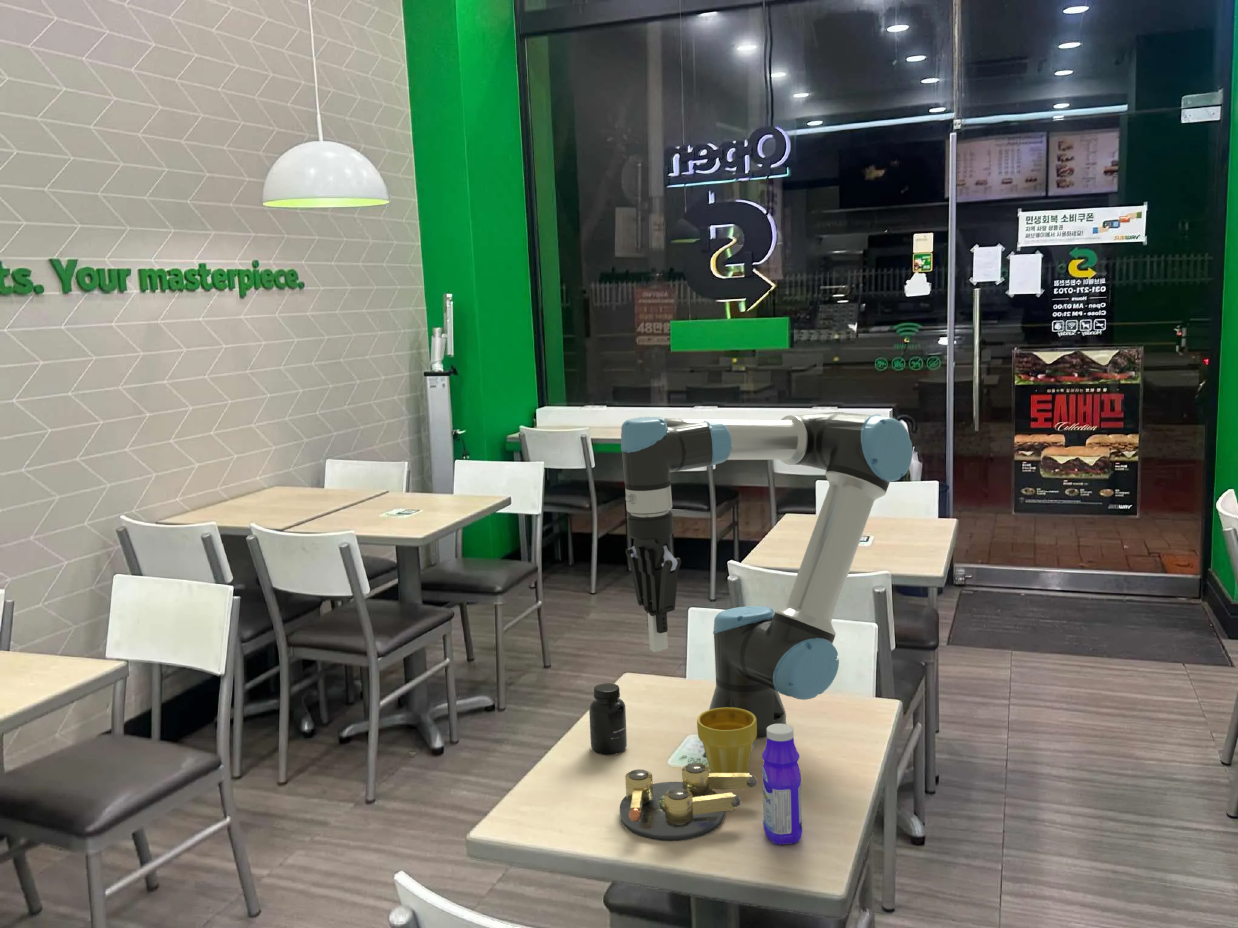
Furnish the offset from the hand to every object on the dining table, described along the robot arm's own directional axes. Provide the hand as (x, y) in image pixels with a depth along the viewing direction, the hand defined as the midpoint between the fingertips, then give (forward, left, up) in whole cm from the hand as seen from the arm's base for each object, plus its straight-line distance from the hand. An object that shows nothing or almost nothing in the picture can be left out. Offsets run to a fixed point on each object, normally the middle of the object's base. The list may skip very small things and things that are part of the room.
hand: (659, 649), depth 173 cm
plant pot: (-12, -4, -25) cm, 28 cm away
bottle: (-14, +20, -25) cm, 35 cm away
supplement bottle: (+7, -19, -25) cm, 32 cm away
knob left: (-8, +7, -22) cm, 25 cm away
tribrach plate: (+1, +9, -25) cm, 26 cm away
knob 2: (-3, +15, -22) cm, 27 cm away
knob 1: (+7, +10, -22) cm, 26 cm away
